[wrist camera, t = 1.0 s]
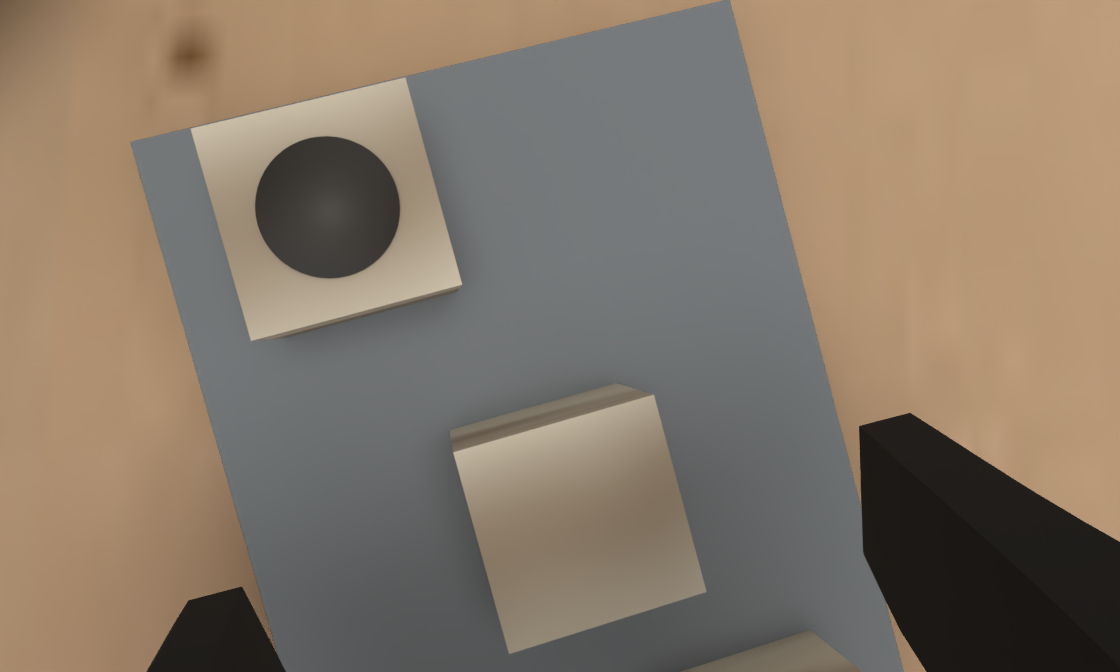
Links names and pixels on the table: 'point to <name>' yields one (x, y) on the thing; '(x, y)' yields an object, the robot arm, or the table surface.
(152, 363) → the table surface
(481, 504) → the plain block
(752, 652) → the dotted block
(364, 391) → the tapping mat
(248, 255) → the dotted block
